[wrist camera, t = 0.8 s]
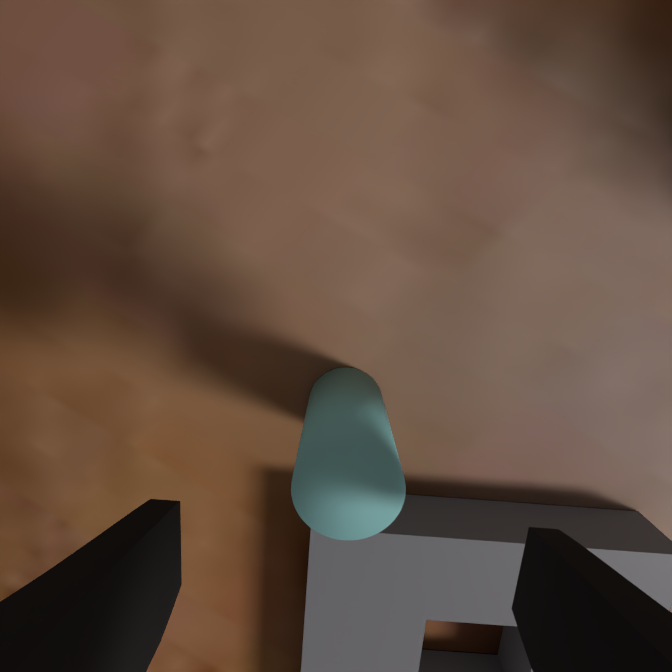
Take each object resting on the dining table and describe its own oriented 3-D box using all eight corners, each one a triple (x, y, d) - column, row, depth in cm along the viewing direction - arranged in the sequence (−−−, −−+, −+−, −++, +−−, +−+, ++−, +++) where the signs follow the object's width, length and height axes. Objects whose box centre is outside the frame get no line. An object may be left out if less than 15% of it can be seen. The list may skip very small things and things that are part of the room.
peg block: (300, 701, 20) (294, 765, 17) (315, 487, 17) (310, 528, 15) (579, 721, 20) (613, 787, 17) (638, 511, 17) (687, 555, 15)
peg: (307, 433, 17) (288, 536, 11) (311, 364, 16) (294, 434, 10) (378, 438, 17) (399, 544, 11) (385, 370, 16) (411, 443, 10)
